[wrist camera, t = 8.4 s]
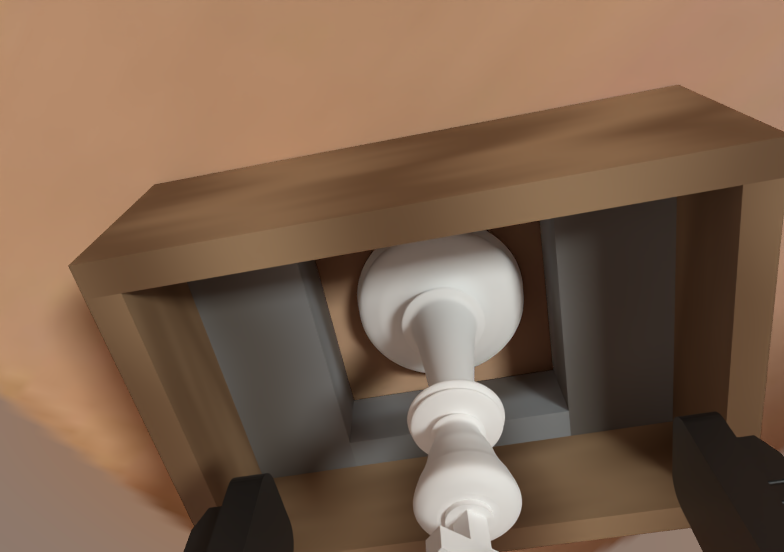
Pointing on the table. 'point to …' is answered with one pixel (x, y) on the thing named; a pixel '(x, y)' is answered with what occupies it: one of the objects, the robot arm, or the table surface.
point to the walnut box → (517, 393)
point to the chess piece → (450, 374)
